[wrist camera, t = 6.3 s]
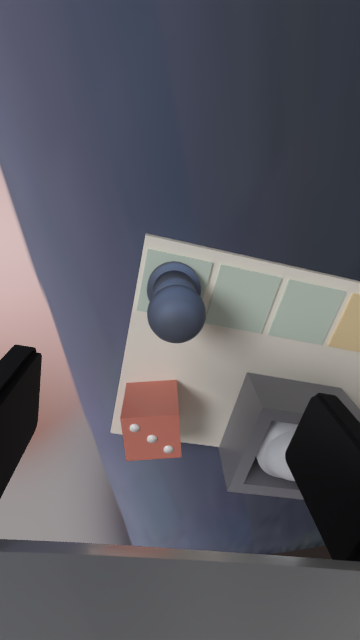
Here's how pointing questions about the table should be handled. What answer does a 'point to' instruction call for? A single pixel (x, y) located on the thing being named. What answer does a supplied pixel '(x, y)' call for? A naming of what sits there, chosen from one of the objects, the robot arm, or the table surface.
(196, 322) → the pawn
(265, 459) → the dome
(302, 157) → the table surface
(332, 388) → the dome housing
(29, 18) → the table surface
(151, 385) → the die
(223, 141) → the table surface
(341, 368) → the board
